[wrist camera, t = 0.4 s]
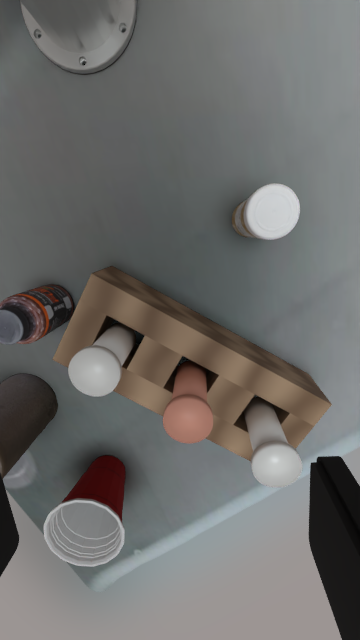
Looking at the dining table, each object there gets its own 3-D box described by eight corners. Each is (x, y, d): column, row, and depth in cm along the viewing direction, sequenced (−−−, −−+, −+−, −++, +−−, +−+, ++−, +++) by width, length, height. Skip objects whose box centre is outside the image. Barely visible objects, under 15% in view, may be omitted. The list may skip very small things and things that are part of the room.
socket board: (78, 337, 44) (52, 359, 36) (111, 265, 41) (91, 273, 33) (262, 434, 47) (274, 473, 39) (308, 374, 43) (331, 404, 36)
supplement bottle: (77, 288, 42) (34, 307, 31) (73, 327, 44) (31, 358, 33) (35, 279, 42) (-22, 296, 31) (33, 319, 44) (-22, 347, 33)
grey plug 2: (232, 415, 39) (242, 474, 30) (252, 387, 38) (270, 439, 28) (263, 431, 40) (283, 495, 30) (284, 404, 38) (312, 461, 29)
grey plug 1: (96, 343, 38) (60, 381, 28) (112, 311, 36) (80, 340, 27) (129, 361, 38) (106, 404, 28) (146, 330, 37) (127, 365, 27)
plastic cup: (153, 465, 50) (139, 535, 38) (118, 503, 53) (95, 579, 41) (100, 429, 48) (68, 490, 37) (66, 470, 51) (28, 539, 40)
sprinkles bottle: (274, 222, 38) (312, 216, 25) (244, 244, 39) (265, 251, 26) (253, 191, 37) (282, 170, 24) (223, 215, 38) (235, 207, 25)
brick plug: (165, 380, 38) (154, 429, 29) (183, 350, 37) (177, 391, 28) (198, 397, 39) (197, 451, 29) (217, 368, 38) (222, 414, 28)
